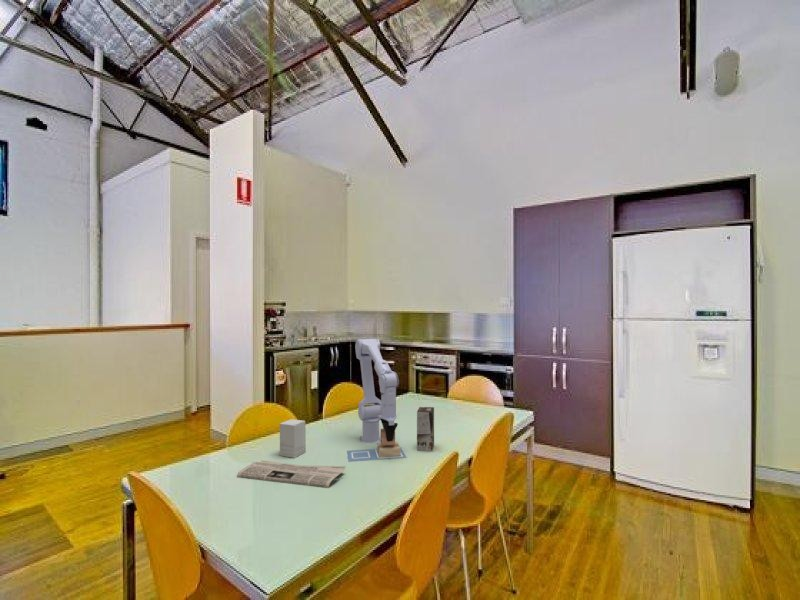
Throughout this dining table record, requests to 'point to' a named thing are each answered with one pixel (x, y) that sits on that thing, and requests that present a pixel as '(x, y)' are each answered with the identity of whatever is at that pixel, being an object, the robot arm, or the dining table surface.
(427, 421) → the coffee box
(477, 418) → the dining table surface
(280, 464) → the newspaper
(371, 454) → the blueprint board
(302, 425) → the supplement box
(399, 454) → the base block
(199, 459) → the dining table surface
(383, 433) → the top block
